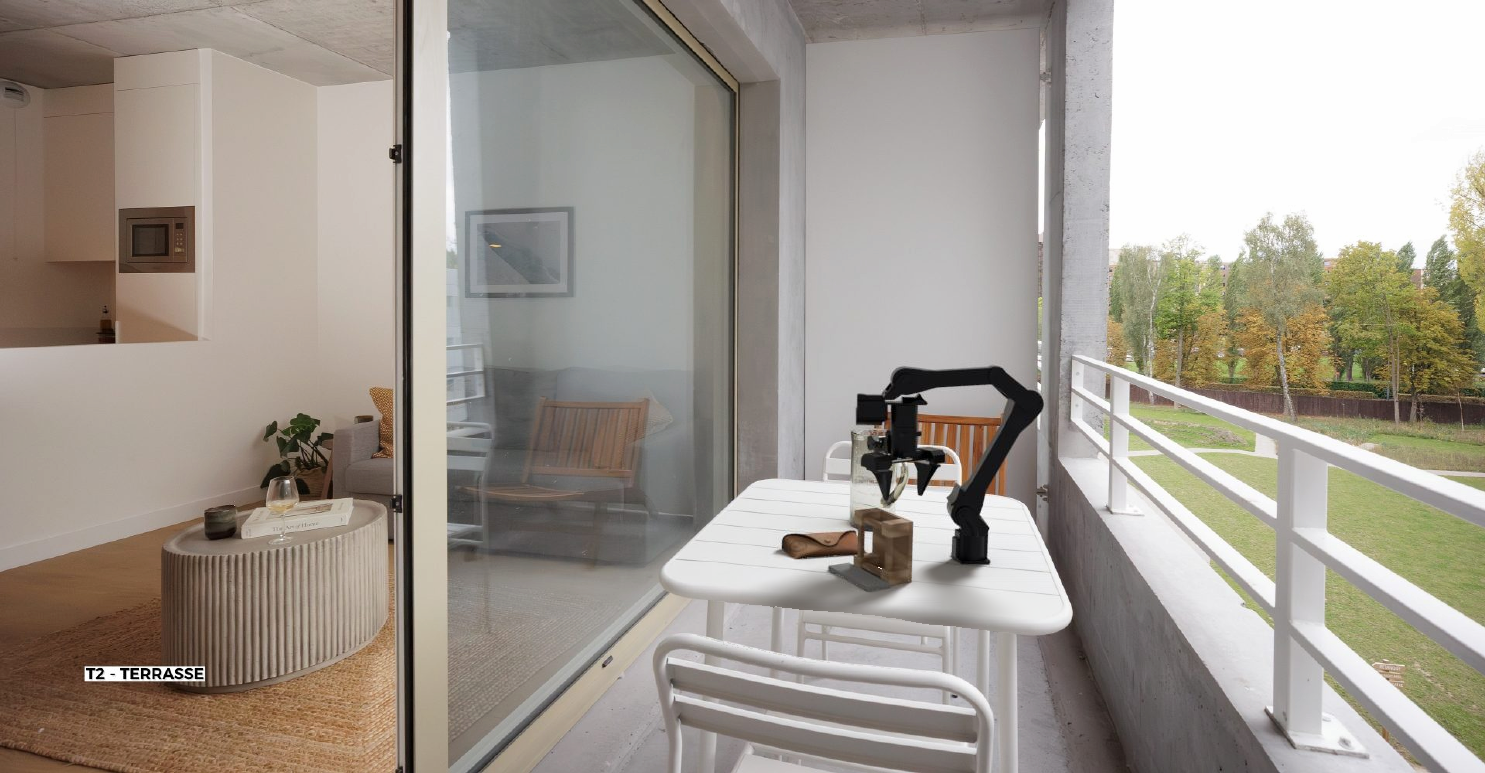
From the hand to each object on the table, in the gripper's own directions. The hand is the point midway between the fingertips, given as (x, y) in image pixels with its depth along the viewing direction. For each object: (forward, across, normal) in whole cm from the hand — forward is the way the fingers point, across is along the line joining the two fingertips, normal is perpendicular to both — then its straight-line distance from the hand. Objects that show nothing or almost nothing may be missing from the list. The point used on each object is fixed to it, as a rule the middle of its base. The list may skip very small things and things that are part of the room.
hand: (903, 497), depth 166 cm
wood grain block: (+13, +11, +8) cm, 19 cm away
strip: (+13, +17, +7) cm, 22 cm away
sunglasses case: (+13, +13, -10) cm, 21 cm away
